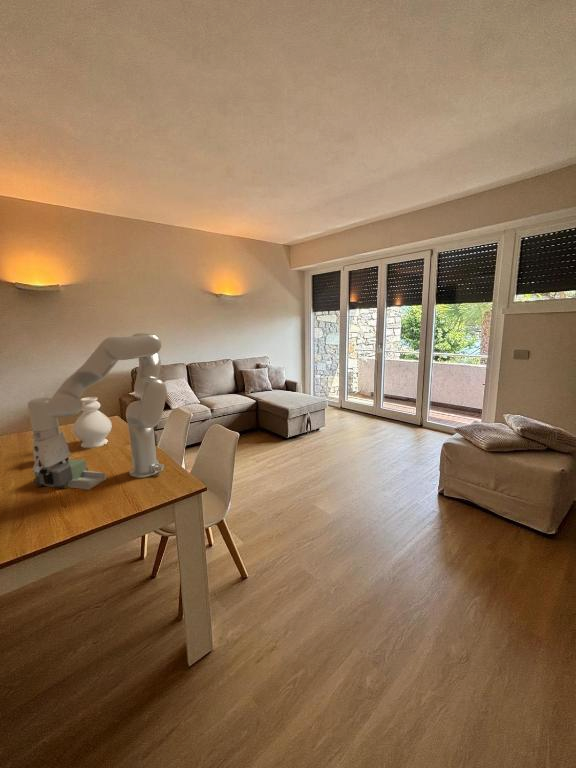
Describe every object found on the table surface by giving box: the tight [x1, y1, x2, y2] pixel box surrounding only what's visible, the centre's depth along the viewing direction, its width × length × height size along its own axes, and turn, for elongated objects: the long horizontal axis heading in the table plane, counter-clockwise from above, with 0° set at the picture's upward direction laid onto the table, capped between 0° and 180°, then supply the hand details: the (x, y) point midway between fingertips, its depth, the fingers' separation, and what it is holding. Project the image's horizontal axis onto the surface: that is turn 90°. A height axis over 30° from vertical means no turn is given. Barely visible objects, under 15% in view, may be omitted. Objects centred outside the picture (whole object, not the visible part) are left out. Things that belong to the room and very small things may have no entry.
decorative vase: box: [72, 396, 113, 449], centre depth 174 cm, size 18×18×25 cm
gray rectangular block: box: [38, 463, 73, 486], centre depth 119 cm, size 9×5×6 cm, turn 78°
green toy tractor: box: [33, 458, 107, 491], centre depth 134 cm, size 24×13×11 cm, turn 78°
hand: (56, 479), depth 119 cm, fingers closed on gray rectangular block, 5 cm apart
